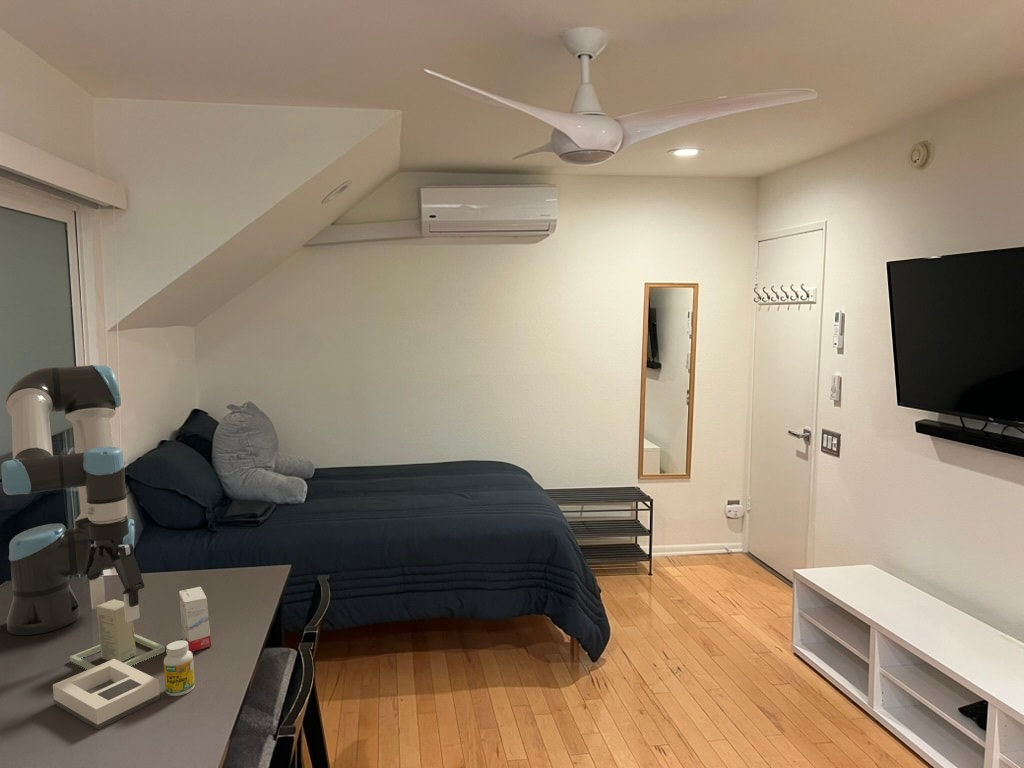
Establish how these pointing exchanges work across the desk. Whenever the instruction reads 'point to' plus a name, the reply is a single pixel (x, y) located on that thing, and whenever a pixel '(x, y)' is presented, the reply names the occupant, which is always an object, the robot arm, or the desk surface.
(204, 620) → the ink box
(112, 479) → the robot arm
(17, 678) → the desk surface
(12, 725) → the desk surface
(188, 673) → the supplement bottle
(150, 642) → the tray rim
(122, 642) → the skincare box
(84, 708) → the block
